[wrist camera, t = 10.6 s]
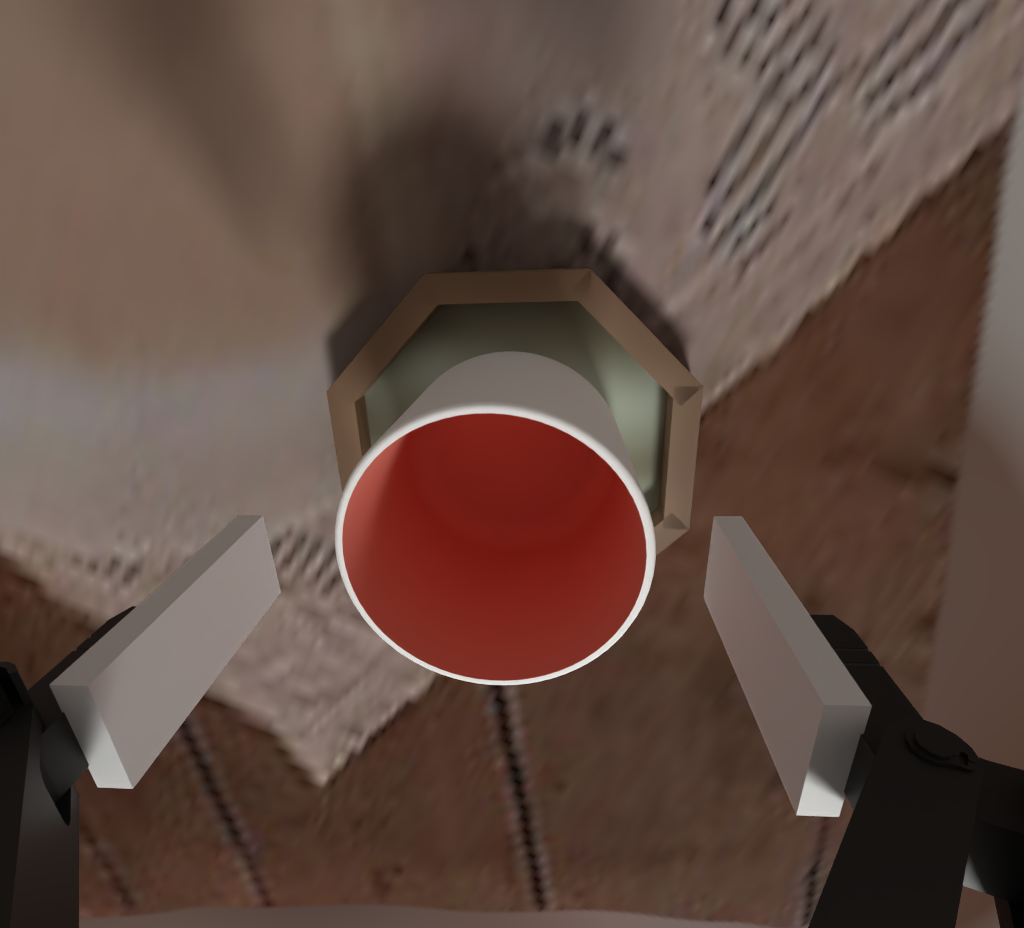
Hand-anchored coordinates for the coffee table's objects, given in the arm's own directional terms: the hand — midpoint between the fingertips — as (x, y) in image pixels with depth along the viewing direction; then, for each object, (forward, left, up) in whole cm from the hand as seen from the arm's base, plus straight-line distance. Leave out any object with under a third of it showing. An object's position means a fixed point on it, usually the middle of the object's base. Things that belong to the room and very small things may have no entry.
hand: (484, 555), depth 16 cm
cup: (+1, 0, -11) cm, 11 cm away
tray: (+1, 0, -12) cm, 12 cm away
